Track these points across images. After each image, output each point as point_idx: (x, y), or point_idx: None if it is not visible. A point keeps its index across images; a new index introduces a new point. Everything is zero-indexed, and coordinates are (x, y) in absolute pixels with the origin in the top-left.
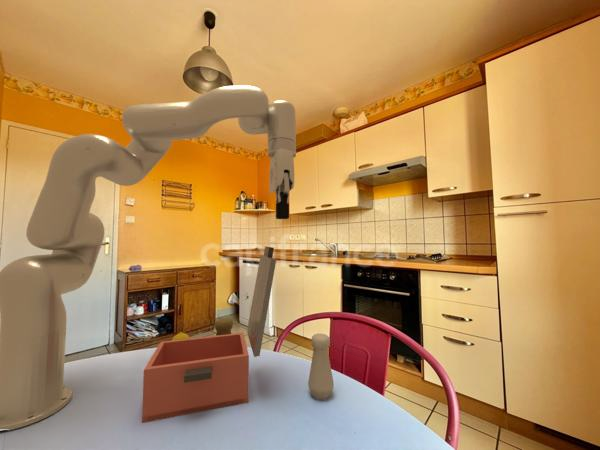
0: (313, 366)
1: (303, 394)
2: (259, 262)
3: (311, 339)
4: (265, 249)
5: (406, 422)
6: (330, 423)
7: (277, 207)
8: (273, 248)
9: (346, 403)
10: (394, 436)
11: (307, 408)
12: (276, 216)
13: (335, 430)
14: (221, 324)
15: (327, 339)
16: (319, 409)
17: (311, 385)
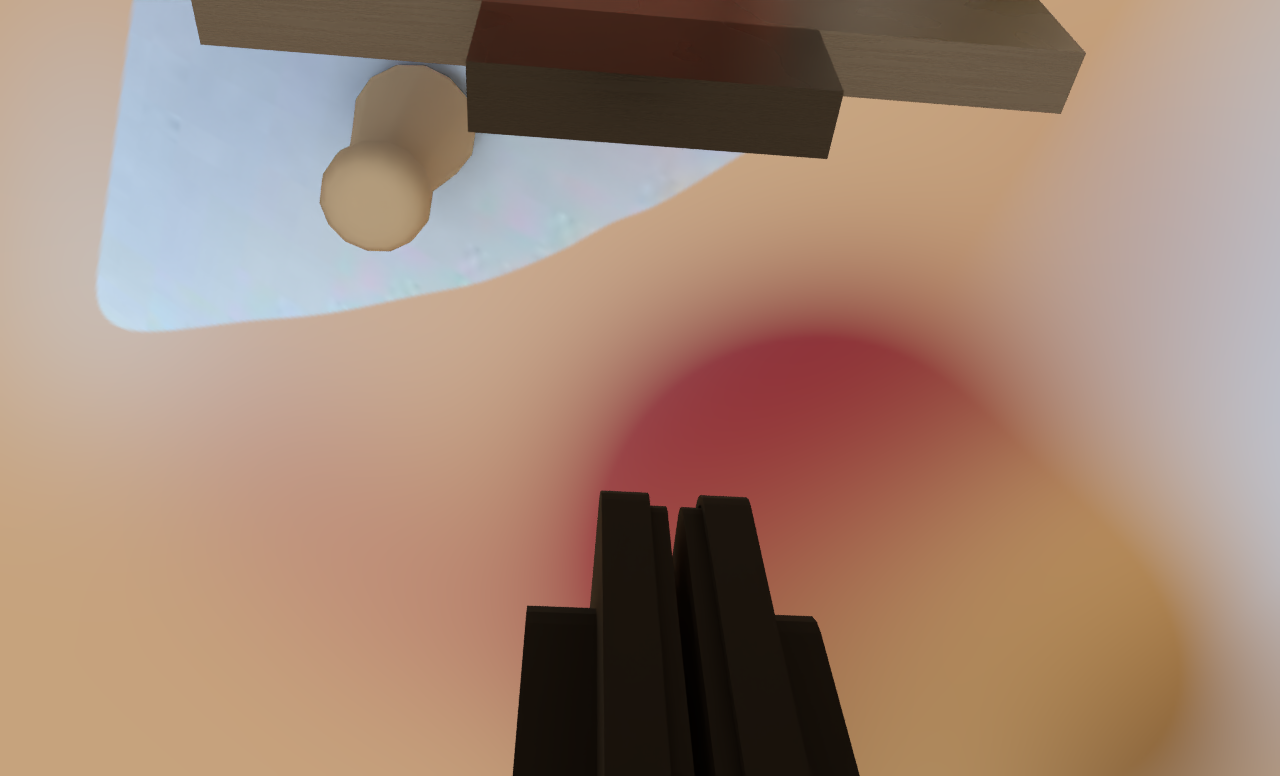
0: (382, 109)
1: None
2: (1028, 5)
3: (379, 150)
4: (753, 63)
5: (192, 312)
6: (235, 63)
7: (605, 696)
8: (470, 121)
9: None
10: (137, 236)
11: None
12: (700, 520)
13: (196, 63)
14: None
15: (332, 226)
16: (324, 59)
17: (390, 72)
